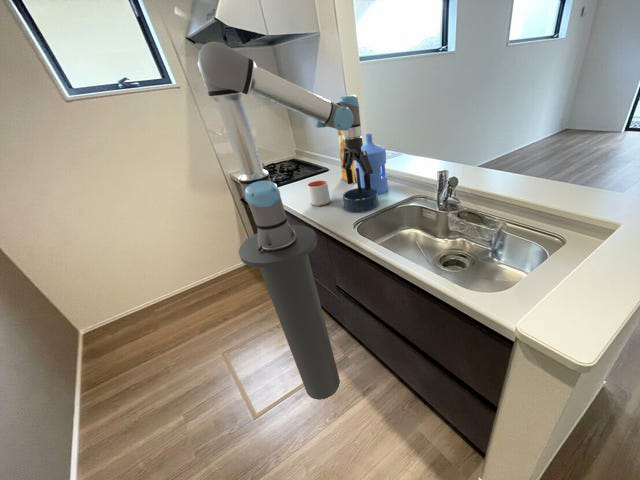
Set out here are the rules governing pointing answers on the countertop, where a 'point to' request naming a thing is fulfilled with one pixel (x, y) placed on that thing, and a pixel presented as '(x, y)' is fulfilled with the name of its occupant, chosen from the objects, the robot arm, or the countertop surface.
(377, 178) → the water jug
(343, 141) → the pancake mix bag
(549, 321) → the countertop surface
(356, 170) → the rod stand
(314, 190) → the cup
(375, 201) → the bowl
